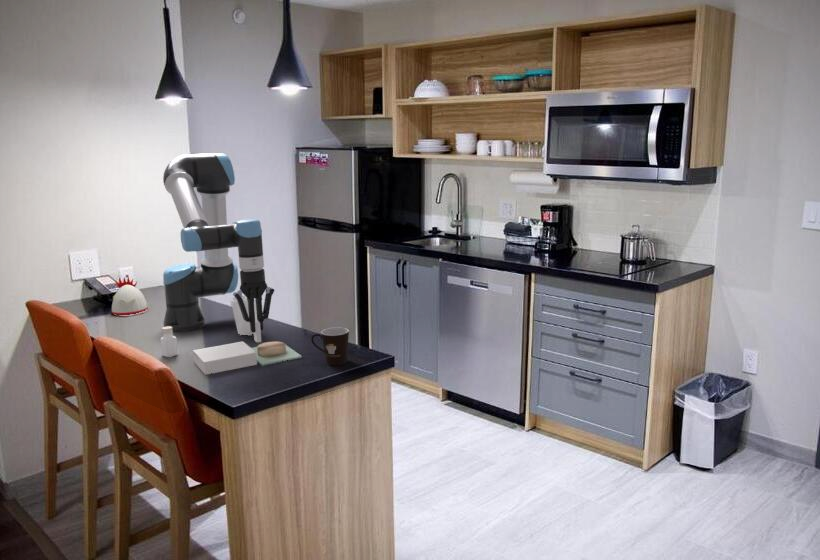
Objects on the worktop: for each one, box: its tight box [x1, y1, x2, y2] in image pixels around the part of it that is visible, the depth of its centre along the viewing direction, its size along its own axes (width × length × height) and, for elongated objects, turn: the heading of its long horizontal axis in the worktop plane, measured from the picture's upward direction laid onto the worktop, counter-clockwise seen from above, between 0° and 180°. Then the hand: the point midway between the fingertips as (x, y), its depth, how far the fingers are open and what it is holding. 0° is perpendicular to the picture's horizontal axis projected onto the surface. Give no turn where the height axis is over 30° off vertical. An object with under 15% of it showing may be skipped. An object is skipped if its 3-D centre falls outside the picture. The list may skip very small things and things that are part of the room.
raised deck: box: [192, 340, 258, 376], centre depth 213 cm, size 14×16×4 cm
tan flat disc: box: [256, 341, 287, 357], centre depth 220 cm, size 9×9×2 cm
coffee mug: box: [310, 326, 350, 367], centre depth 211 cm, size 12×9×10 cm
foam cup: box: [230, 294, 258, 336], centre depth 245 cm, size 10×9×13 cm
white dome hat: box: [111, 276, 149, 315], centre depth 280 cm, size 14×14×15 cm
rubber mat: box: [250, 344, 302, 367], centre depth 221 cm, size 18×13×1 cm
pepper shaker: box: [160, 326, 179, 358], centre depth 222 cm, size 4×4×10 cm
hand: (257, 341), depth 218 cm, fingers closed
